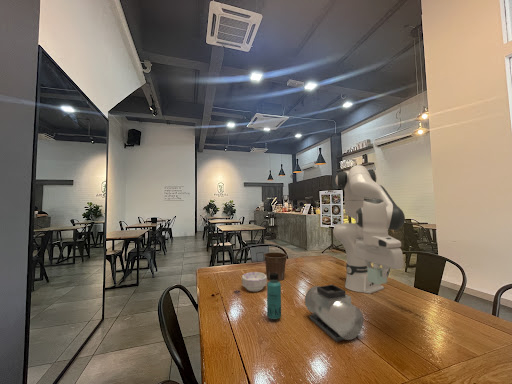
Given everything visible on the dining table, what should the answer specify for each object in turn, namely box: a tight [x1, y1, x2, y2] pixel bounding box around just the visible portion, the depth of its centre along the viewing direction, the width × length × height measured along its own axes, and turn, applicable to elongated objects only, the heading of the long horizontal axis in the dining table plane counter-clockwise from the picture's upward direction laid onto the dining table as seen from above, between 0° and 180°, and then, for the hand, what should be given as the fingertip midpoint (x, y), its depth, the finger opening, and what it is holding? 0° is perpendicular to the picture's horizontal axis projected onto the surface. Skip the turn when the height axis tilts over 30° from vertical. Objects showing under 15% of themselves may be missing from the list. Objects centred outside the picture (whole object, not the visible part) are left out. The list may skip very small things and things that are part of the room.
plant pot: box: [263, 251, 288, 282], centre depth 154 cm, size 16×16×16 cm
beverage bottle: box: [266, 273, 282, 320], centre depth 99 cm, size 6×7×20 cm
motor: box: [304, 284, 364, 343], centre depth 94 cm, size 12×26×16 cm, turn 19°
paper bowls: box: [241, 271, 268, 292], centre depth 135 cm, size 15×15×8 cm
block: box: [367, 263, 388, 285], centre depth 87 cm, size 5×4×8 cm
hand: (377, 274), depth 87 cm, fingers closed on block, 4 cm apart
